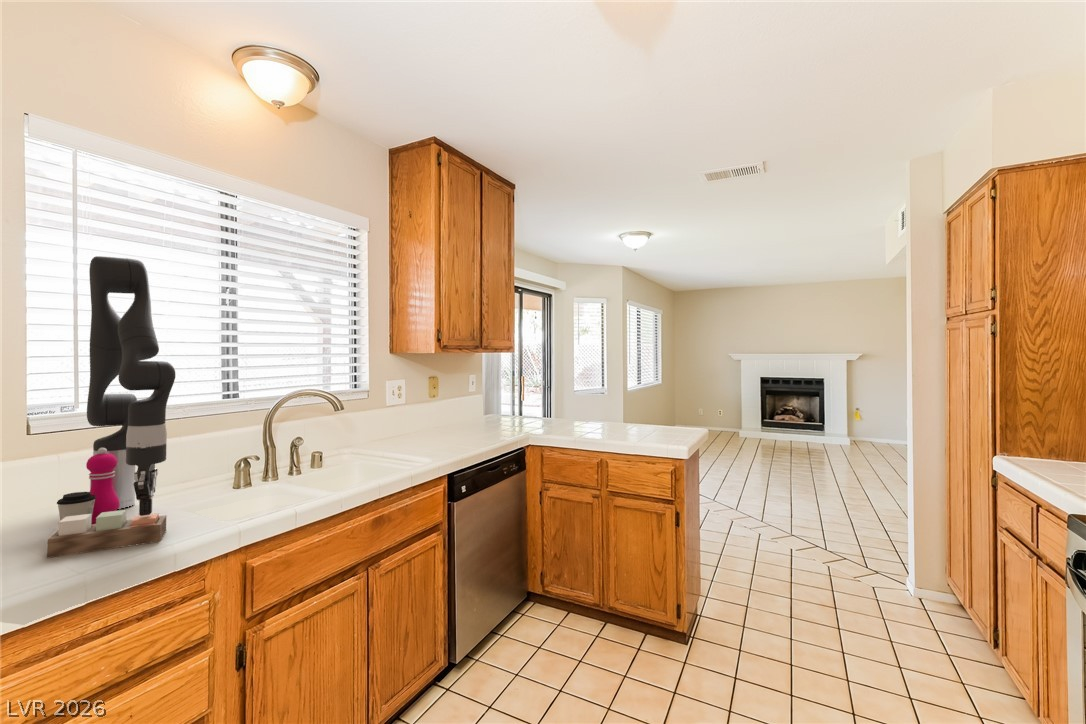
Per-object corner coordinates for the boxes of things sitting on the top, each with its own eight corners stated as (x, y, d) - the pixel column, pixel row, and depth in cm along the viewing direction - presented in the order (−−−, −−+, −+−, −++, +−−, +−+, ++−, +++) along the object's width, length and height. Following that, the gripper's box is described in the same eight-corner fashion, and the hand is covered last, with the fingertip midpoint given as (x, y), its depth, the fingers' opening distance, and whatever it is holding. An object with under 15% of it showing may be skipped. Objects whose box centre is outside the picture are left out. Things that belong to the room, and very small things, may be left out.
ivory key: (58, 542, 105) (58, 522, 105) (65, 536, 109) (65, 516, 109) (85, 538, 107) (85, 519, 107) (91, 532, 111) (91, 513, 111)
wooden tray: (46, 557, 103) (47, 538, 103) (60, 545, 110) (60, 527, 110) (160, 541, 113) (160, 523, 113) (166, 531, 120) (166, 514, 120)
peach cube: (131, 540, 111) (131, 521, 111) (135, 534, 115) (135, 515, 115) (154, 536, 114) (155, 518, 114) (158, 531, 117) (158, 513, 117)
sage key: (95, 537, 108) (96, 517, 108) (101, 531, 112) (101, 512, 112) (121, 534, 110) (121, 514, 110) (125, 528, 114) (126, 509, 114)
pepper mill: (96, 529, 120) (97, 450, 120) (74, 526, 122) (75, 449, 122) (126, 520, 127) (127, 446, 128) (105, 518, 129) (106, 444, 129)
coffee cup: (103, 531, 119) (103, 491, 119) (71, 541, 112) (72, 499, 112) (80, 529, 120) (81, 489, 120) (47, 539, 113) (48, 497, 113)
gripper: (132, 440, 118) (131, 509, 118) (119, 448, 107) (118, 525, 107) (170, 438, 122) (169, 505, 122) (161, 446, 111) (160, 520, 111)
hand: (145, 514), depth 114 cm, fingers closed
